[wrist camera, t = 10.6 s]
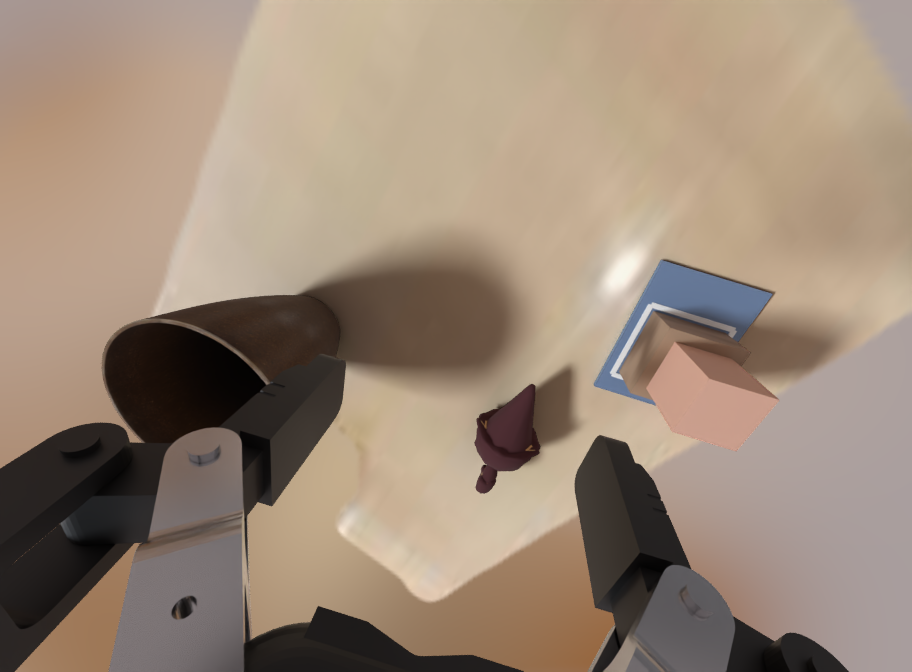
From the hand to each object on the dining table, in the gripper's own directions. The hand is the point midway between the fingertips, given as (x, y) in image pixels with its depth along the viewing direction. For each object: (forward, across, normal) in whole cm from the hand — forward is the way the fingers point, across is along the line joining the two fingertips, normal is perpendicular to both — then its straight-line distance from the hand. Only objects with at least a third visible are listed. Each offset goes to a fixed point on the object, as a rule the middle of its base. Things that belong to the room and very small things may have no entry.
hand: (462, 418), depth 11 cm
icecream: (+25, -6, +19) cm, 32 cm away
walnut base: (+25, -19, +6) cm, 32 cm away
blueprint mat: (+25, -19, +4) cm, 32 cm away
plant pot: (+25, +18, +14) cm, 34 cm away
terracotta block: (+21, -19, +5) cm, 28 cm away
